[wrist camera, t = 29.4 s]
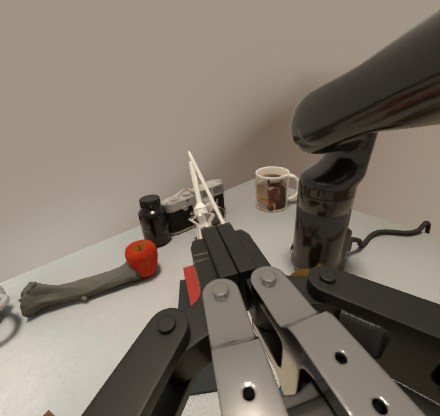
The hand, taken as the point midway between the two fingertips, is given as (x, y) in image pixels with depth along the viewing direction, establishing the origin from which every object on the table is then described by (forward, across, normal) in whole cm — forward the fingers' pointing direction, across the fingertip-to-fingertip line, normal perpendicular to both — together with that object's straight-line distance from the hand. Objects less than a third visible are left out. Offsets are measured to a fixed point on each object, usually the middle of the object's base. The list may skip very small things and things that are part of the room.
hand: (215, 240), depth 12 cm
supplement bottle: (+43, +7, +28) cm, 52 cm away
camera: (+46, -5, +28) cm, 54 cm away
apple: (+31, +10, +28) cm, 43 cm away
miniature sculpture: (+50, -2, +10) cm, 51 cm away
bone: (+30, +22, +28) cm, 47 cm away
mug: (+48, -29, +28) cm, 63 cm away
